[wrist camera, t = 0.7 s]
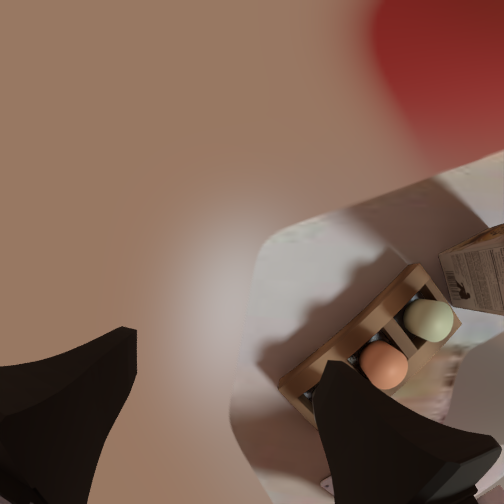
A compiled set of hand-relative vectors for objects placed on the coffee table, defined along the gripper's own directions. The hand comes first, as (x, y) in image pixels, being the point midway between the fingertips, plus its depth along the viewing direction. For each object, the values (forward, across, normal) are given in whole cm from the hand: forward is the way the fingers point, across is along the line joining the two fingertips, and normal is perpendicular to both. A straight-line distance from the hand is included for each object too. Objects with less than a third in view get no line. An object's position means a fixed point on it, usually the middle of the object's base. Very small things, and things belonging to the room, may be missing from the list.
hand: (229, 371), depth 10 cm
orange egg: (+12, -14, +6) cm, 19 cm away
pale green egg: (+12, -17, +1) cm, 21 cm away
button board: (+14, -14, +6) cm, 21 cm away
